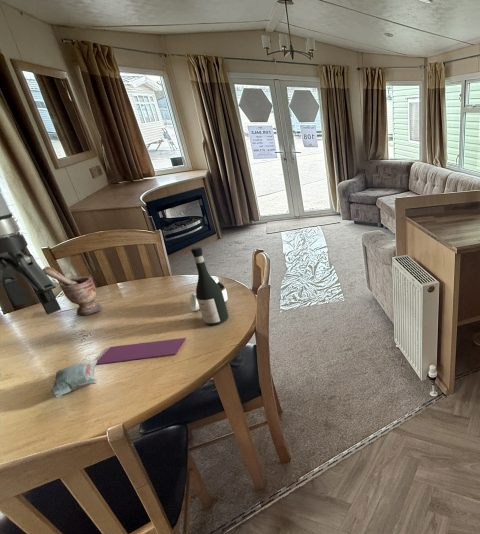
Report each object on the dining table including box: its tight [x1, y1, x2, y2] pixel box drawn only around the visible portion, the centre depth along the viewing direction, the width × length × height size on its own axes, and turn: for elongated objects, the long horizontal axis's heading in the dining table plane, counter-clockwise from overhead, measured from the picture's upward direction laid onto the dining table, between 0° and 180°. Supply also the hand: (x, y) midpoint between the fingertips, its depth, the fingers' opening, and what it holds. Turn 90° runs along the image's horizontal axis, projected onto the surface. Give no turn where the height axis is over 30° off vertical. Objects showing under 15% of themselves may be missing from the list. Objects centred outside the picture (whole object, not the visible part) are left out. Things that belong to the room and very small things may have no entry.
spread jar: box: [189, 275, 229, 312], centre depth 136 cm, size 12×11×12 cm
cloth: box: [95, 337, 187, 366], centre depth 112 cm, size 22×9×1 cm, turn 106°
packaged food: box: [51, 358, 98, 398], centre depth 97 cm, size 9×12×5 cm
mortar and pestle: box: [42, 266, 103, 316], centre depth 128 cm, size 12×9×20 cm
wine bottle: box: [190, 246, 229, 326], centre depth 123 cm, size 8×8×30 cm
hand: (37, 307), depth 94 cm, fingers open, 13 cm apart
